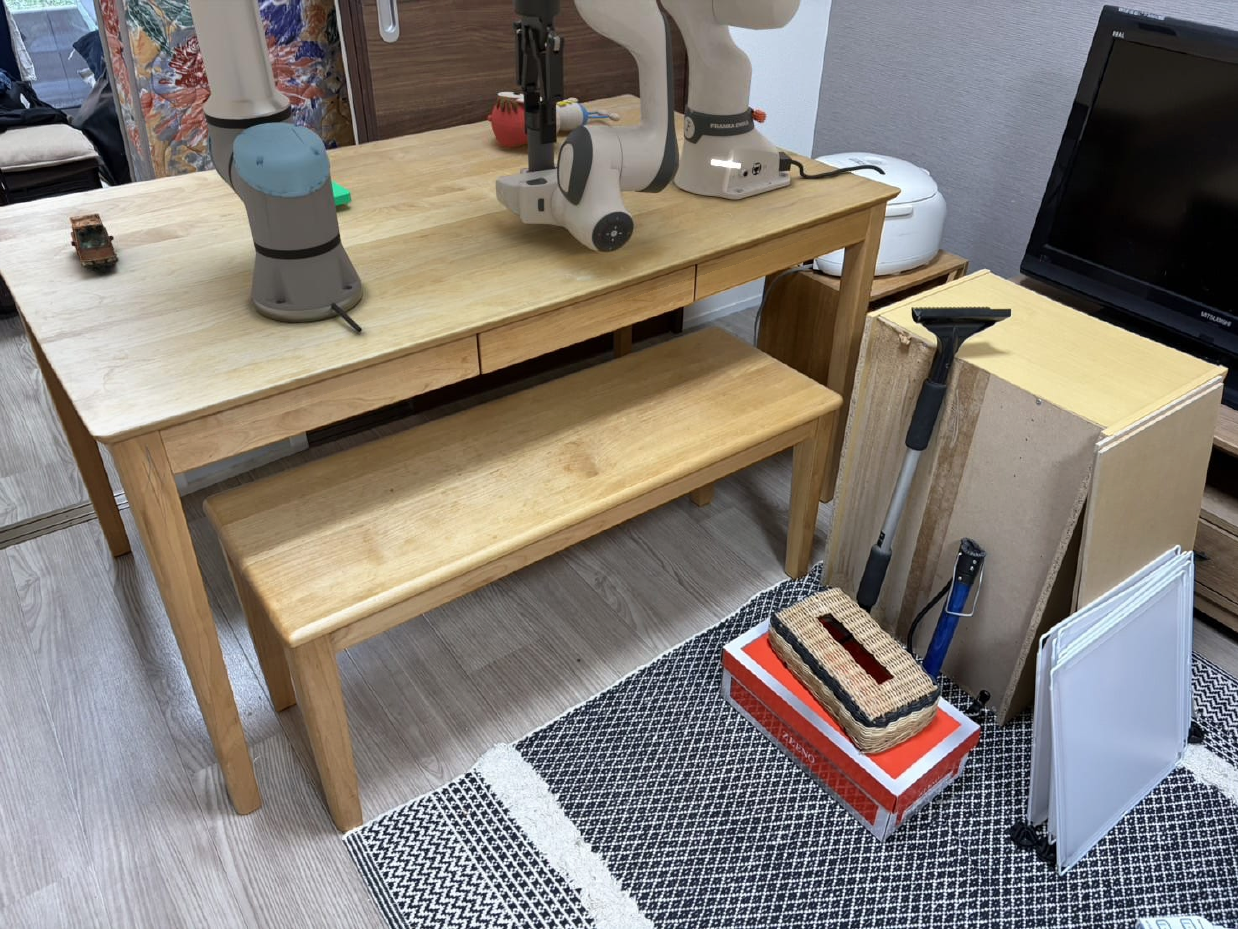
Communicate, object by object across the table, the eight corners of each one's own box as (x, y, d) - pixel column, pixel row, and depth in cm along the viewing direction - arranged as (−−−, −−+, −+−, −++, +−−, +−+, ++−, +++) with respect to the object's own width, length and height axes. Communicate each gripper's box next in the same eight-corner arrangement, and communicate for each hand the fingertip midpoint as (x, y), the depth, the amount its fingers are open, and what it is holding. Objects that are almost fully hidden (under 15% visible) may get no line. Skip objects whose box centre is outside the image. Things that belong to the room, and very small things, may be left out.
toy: (638, 98, 193) (509, 99, 178) (634, 148, 198) (509, 154, 183) (593, 85, 207) (469, 85, 192) (590, 133, 211) (469, 136, 196)
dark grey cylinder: (526, 206, 165) (523, 111, 155) (550, 203, 166) (548, 109, 157) (534, 215, 162) (531, 119, 152) (558, 212, 163) (557, 117, 153)
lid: (545, 117, 158) (545, 103, 157) (561, 125, 155) (561, 111, 153) (519, 121, 156) (518, 107, 154) (534, 129, 152) (534, 115, 151)
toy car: (109, 242, 148) (95, 200, 144) (132, 268, 141) (118, 225, 137) (66, 252, 145) (51, 209, 141) (87, 279, 138) (72, 235, 133)
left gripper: (490, -24, 147) (497, 125, 161) (541, -3, 135) (545, 157, 149) (532, -27, 150) (536, 120, 164) (586, -7, 138) (586, 150, 152)
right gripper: (629, 170, 153) (593, 144, 163) (512, 187, 145) (483, 159, 155) (627, 206, 157) (593, 180, 166) (514, 225, 149) (485, 196, 159)
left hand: (540, 137), depth 157 cm, fingers closed on lid, 5 cm apart
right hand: (539, 170), depth 161 cm, fingers closed on dark grey cylinder, 4 cm apart
